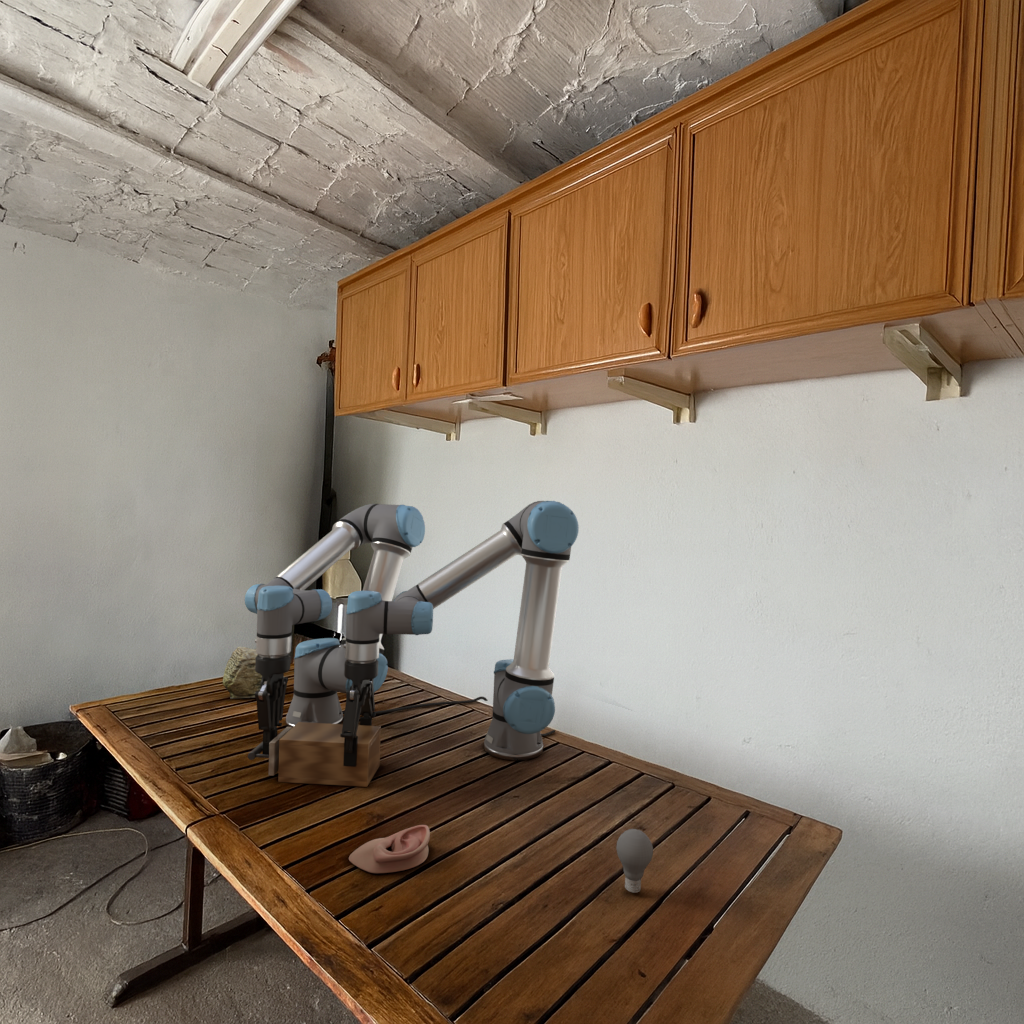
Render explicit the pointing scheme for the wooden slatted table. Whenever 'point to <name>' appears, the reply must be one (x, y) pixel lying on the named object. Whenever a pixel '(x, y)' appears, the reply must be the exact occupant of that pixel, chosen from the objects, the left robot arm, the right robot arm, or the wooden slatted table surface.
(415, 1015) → the wooden slatted table surface
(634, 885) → the light bulb
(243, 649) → the fossil
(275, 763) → the drawer
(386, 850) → the anatomical model
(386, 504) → the left robot arm
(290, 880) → the wooden slatted table surface
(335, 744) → the cabinet
